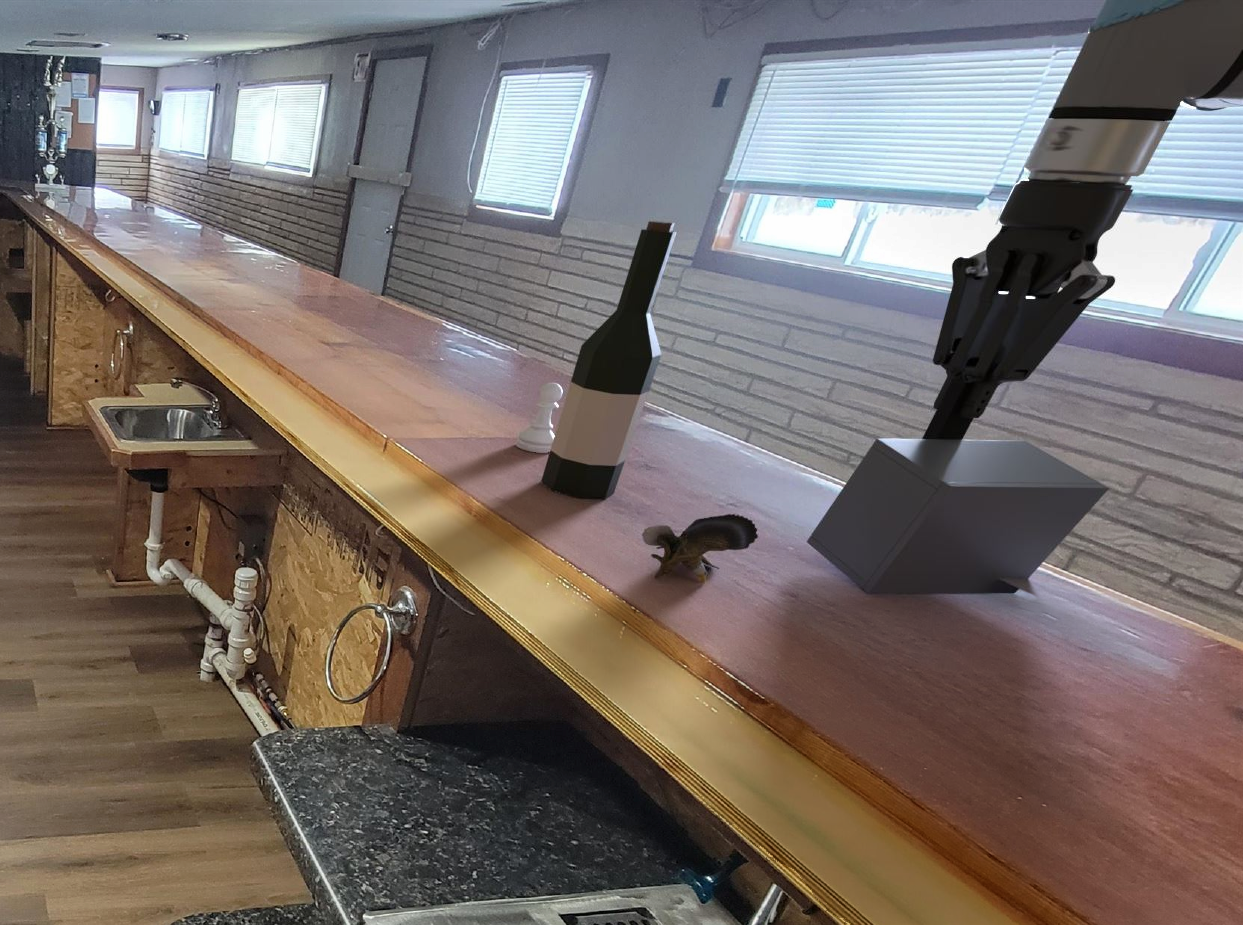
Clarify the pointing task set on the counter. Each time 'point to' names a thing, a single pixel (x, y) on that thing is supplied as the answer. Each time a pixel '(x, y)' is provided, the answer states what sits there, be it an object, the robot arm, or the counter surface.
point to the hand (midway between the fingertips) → (938, 446)
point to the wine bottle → (611, 381)
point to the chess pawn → (541, 422)
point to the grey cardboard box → (952, 515)
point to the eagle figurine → (699, 542)
